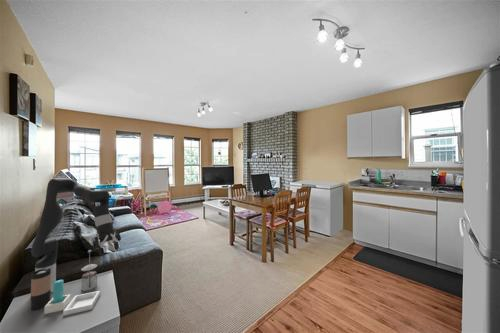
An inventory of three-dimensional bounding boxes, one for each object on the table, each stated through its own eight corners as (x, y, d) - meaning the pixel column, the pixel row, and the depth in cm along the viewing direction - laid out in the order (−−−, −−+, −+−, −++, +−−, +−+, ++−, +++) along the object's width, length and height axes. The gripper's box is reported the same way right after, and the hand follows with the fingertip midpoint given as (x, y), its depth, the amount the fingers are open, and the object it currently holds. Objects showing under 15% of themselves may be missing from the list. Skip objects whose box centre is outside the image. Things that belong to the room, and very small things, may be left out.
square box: (44, 316, 102) (44, 306, 102) (52, 306, 109) (52, 297, 110) (63, 311, 105) (64, 302, 105) (70, 302, 113) (70, 293, 113)
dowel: (51, 310, 105) (51, 284, 105) (55, 306, 108) (55, 280, 109) (61, 308, 106) (61, 282, 107) (64, 304, 110) (64, 278, 110)
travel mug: (32, 314, 104) (32, 276, 104) (28, 309, 108) (29, 272, 108) (52, 305, 110) (52, 270, 111) (48, 301, 114) (48, 267, 115)
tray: (63, 318, 100) (63, 311, 101) (75, 301, 113) (75, 295, 113) (91, 311, 105) (91, 304, 105) (100, 296, 118) (100, 290, 118)
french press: (98, 282, 133) (98, 246, 134) (99, 289, 125) (100, 250, 125) (79, 288, 126) (79, 250, 127) (79, 296, 118) (79, 255, 119)
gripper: (110, 222, 118) (116, 249, 116) (85, 228, 104) (91, 258, 102) (120, 219, 116) (126, 246, 114) (96, 224, 103) (102, 255, 100)
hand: (109, 252), depth 108 cm, fingers open, 8 cm apart
